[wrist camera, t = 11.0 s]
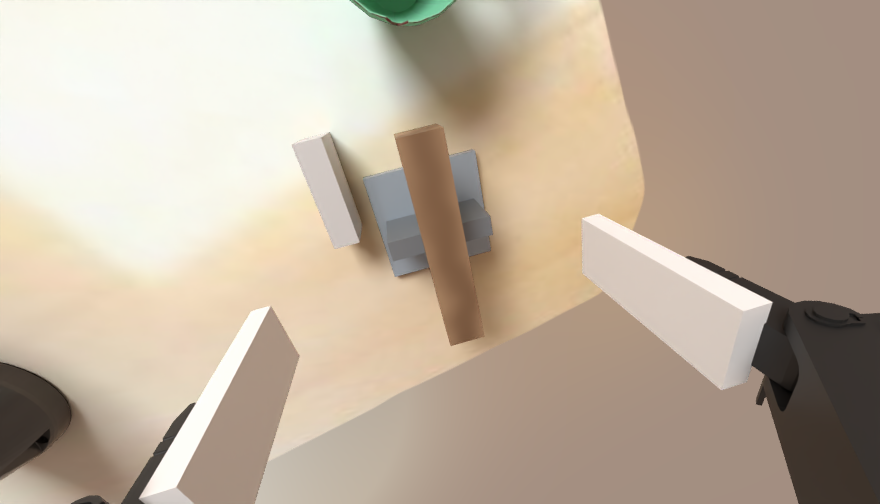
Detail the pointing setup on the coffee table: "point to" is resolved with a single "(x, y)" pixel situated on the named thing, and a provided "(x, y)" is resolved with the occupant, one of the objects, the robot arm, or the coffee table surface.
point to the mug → (403, 10)
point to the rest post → (329, 188)
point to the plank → (441, 228)
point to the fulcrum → (400, 217)
